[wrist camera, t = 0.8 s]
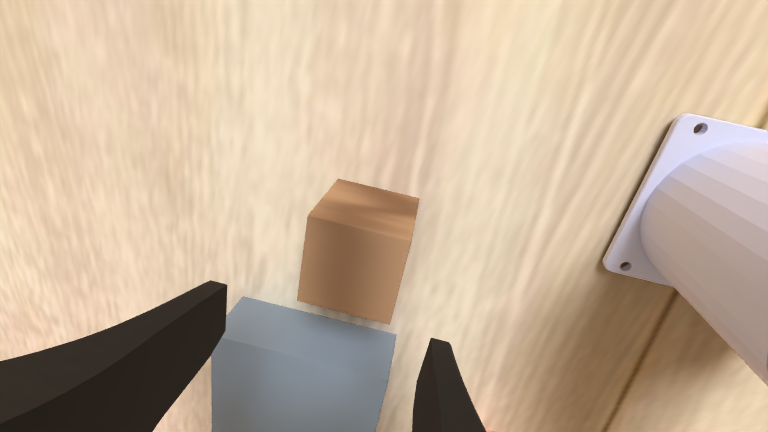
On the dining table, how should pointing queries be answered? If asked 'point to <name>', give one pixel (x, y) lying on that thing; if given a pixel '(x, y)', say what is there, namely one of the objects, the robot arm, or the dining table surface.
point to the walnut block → (357, 250)
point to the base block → (297, 372)
